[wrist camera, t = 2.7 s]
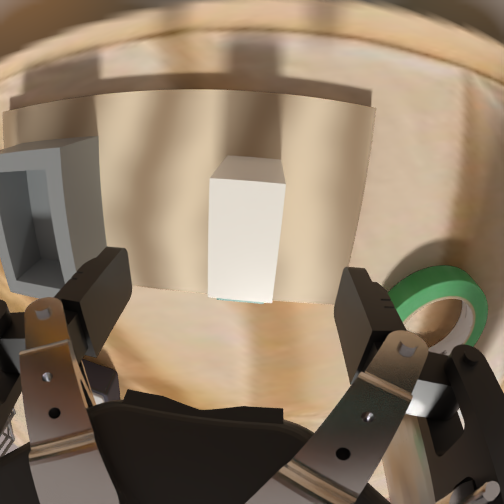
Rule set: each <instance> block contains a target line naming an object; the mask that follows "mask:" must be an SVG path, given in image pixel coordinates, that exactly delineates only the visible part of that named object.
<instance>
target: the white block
mask: <svg viewBox="0 0 504 504" xmlns="http://www.w3.org/2000/svg"><path fill="white" fill-rule="evenodd" d="M285 189H286V182H285V176H284V171H283V166H282V161H281V160H280V159H269V158H257V157H244V156H229V155H228V156H227V157H226V158H225V159H224V161H223V162H222V163H221V164H220V166H219V167H218V168H217V169H216V171H215V172H214V173H213V174H212V176H211V177H210V182H209V219H208V297H211V298H217V300H227V301H237V302H248V303H259V304H264V303H272V299H273V291H274V283H275V275H276V267H277V259H278V250H279V242H280V233H281V225H282V216H283V207H284V198H285Z"/></svg>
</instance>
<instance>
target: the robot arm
mask: <svg viewBox="0 0 504 504" xmlns="http://www.w3.org/2000/svg"><path fill="white" fill-rule="evenodd" d="M131 293H132V280H131V273H130V265H129V258H128V252H127V250H126V248H120V247H109V246H107V247H106V248H105V249H104V250H103V251H102V252H101V253H100V254H99V255H98V256H97V257H96V258H93V259H91V260H89V261H88V262H86V263H84V264H83V265H82V266H81V267H80V268H79V269H78V270H77V273H75V274H74V275H73V276H72V277H71V279H69V280H68V281H67V283H66V284H65V285H64V286H63V287H62V288H61V289H60V291H59V292H58V293H57V294H56V295H55V296H54V297H45V298H41V299H38V300H36V301H34V302H32V303H31V304H30V305H29V306H28V307H27V308H26V310H25V312H18V313H10V312H9V309H8V307H7V304H6V302H5V301H3V300H0V434H1V432H2V430H3V428H4V426H5V423H6V421H7V419H8V417H9V415H10V413H11V411H12V409H13V407H14V405H15V403H16V401H17V399H18V398H19V396H20V394H21V392H22V395H23V403H24V410H25V417H26V423H27V429H28V434H29V440H30V442H28V443H26V444H25V445H23V446H21V447H19V448H17V449H15V450H14V451H12V452H10V453H8V454H6V455H4V456H2V457H0V504H504V393H503V391H502V389H501V387H500V385H499V383H498V381H497V379H496V377H495V375H494V373H493V371H492V369H491V368H490V366H489V364H488V362H487V360H486V358H485V357H484V355H483V354H482V353H481V352H480V351H479V350H477V349H476V348H474V347H472V346H469V345H465V344H461V345H457V346H455V347H454V348H453V349H452V351H451V353H450V355H449V356H448V355H443V354H439V353H434V352H430V351H428V346H427V344H426V343H425V341H424V340H423V339H422V338H421V337H419V336H418V335H416V334H414V333H412V332H409V331H407V330H406V328H405V326H404V324H403V322H402V320H401V318H400V316H399V314H398V312H397V310H396V309H395V306H394V304H393V302H392V301H391V298H390V297H389V295H388V293H387V291H386V290H385V289H384V288H383V287H382V286H381V285H380V284H378V283H377V282H372V281H371V279H370V277H369V275H368V273H367V271H366V269H365V268H355V267H345V268H344V269H343V272H342V276H341V280H340V284H339V288H338V292H337V296H336V300H335V306H334V318H335V322H336V326H337V330H338V334H339V338H340V342H341V346H342V351H343V355H344V359H345V363H346V367H347V372H348V376H349V381H350V385H351V386H350V388H349V389H348V391H347V392H346V393H345V395H344V396H343V397H342V399H341V400H340V401H339V403H338V404H337V405H336V407H335V408H334V409H333V411H332V412H331V413H330V414H329V416H328V417H327V418H326V419H325V421H324V422H323V423H322V424H321V426H320V427H319V428H318V429H317V431H316V432H315V433H313V432H312V431H310V430H309V429H307V428H305V427H303V426H301V425H299V424H296V423H293V422H290V421H287V420H283V408H262V407H248V406H241V407H232V408H223V409H212V410H199V409H196V408H193V407H190V406H187V405H185V404H182V403H179V402H177V401H174V400H172V399H169V398H167V397H164V396H160V395H154V394H148V393H143V392H138V391H133V390H127V392H126V395H125V397H124V400H114V401H108V402H103V403H100V404H97V405H96V402H95V399H94V396H93V393H92V390H91V387H90V384H89V381H88V378H87V375H86V371H85V368H84V365H83V362H82V359H83V357H84V355H87V356H91V357H96V358H97V356H98V354H99V352H100V351H101V349H102V347H103V345H104V343H105V341H106V340H107V338H108V336H109V334H110V332H111V331H112V329H113V327H114V325H115V324H116V322H117V320H118V318H119V317H120V315H121V313H122V312H123V310H124V308H125V306H126V305H127V303H128V301H129V300H130V297H131ZM459 408H460V410H461V413H462V416H463V419H464V423H465V428H464V430H463V427H462V424H461V421H460V418H459V415H458V412H457V411H458V409H459ZM381 459H382V461H383V466H384V471H385V476H386V481H387V487H388V492H389V498H390V502H389V501H387V499H385V498H384V497H383V496H382V495H381V494H380V493H379V492H377V491H376V490H375V489H374V488H373V487H372V486H371V485H370V484H369V483H368V481H369V479H370V478H371V476H372V474H373V473H374V471H375V469H376V468H377V466H378V464H379V463H380V461H381Z"/></svg>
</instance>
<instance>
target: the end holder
mask: <svg viewBox="0 0 504 504" xmlns="http://www.w3.org/2000/svg"><path fill="white" fill-rule="evenodd" d="M106 247H107V243H106V235H105V226H104V217H103V207H102V196H101V182H100V165H99V136H88V137H75V138H63V139H53V140H43V141H35V142H27V143H21V144H18V145H14V146H11V147H8V148H5V149H2V150H0V258H1V262H2V265H3V269H4V272H5V275H6V279H7V282H8V285H9V288H10V291H11V292H13V293H18V294H22V295H26V296H30V297H35V298H39V299H41V298H45V297H54V296H55V295H56V294H57V293H58V292H59V291H60V289H61V288H62V287H63V286H64V285H65V284H66V283H67V281H68V280H69V279H71V277H72V276H73V275H74V274H75V273H77V270H78V269H79V268H80V267H81V266H82V265H83V264H84V263H86V262H88V261H89V260H91V259H93V258H96V257H97V256H98V255H99V254H100V253H101V252H102V251H103V250H104V249H105V248H106Z"/></svg>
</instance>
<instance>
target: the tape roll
mask: <svg viewBox="0 0 504 504" xmlns="http://www.w3.org/2000/svg"><path fill="white" fill-rule="evenodd" d="M388 295H389V297H390V298H391V301H392V302H393V304H394V306H395V309H396V310H397V312H398V314H399V316H400V318H401V320H402V322H403V324H405V323H406V322H407V320H409V319H410V318H411V316H413V315H414V314H415V313H416V312H417V311H419V310H421V309H422V308H424V307H425V306H427V305H429V304H432V303H434V302H436V301H440V300H444V299H458V300H462V311H461V314H460V317H459V320H458V322H457V324H456V325H455V327H454V328H453V330H452V331H451V332H450V333H449V334H448V335H447V336H446V337H445V338H444V339H443V340H441V341H440V342H439V343H437V344H435V345H434V346H432V347H430V348H428V351H430V352H434V353H439V354H443V355H448V356H449V355H450V353H451V351H452V349H453V348H454V347H455V346H457V345H461V344H465V345H469V346H472V347H473V346H474V345H475V343H476V342H477V340H478V339H479V337H480V335H481V334H482V332H483V329H484V327H485V324H486V321H487V315H488V304H487V300H486V297H485V295H484V293H483V291H482V290H481V289H480V287H479V286H478V285H477V284H476V283H475V281H474V280H473V279H472V278H471V277H470V276H469V275H468V274H467V273H466V272H465V271H463V270H462V269H460V268H457V267H453V266H447V265H440V266H433V267H428V268H425V269H422V270H420V271H417V272H415V273H413V274H411V275H409V276H408V277H406V278H405V279H403V280H402V281H400V282H399V283H398V284H396V285H395V286H394V287H393V288H392V289H391V290H390V291H389V292H388Z"/></svg>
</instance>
